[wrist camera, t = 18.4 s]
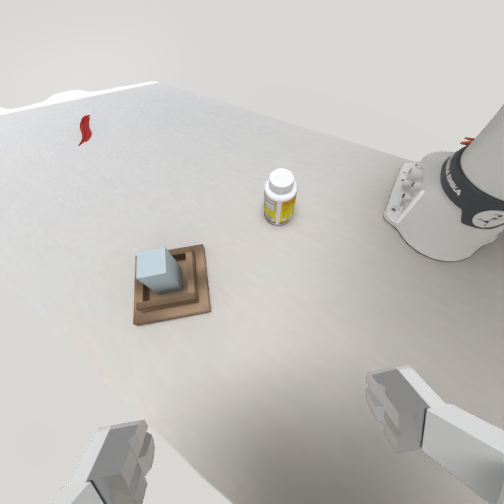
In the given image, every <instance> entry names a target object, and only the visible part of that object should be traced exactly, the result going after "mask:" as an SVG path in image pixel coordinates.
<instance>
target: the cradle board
mask: <svg viewBox="0 0 504 504" xmlns="http://www.w3.org/2000/svg"><path fill="white" fill-rule="evenodd" d="M168 252H169V253H170V254H171V255H172V256H173V258H174V259H175V260H176V261H177V263H178V264H179V265H180V266H181V268H182V278H183V290H181V291H176V292H171V293H166V294H161V295H159V294H157V293H156V292H155V291H153V290H152V289H150V288H149V287H148V286H146V285H145V284H143V283H142V282H140V281H139V280H138V279H136V273H137V256H136V262H135V290H134V318H133V324H135V325H137V326H138V325H144V324H149V323H154V322H159V321H165V320H170V319H175V318H181V317H186V316H191V315H197V314H202V313H207V312H211V308H210V299H209V289H208V279H207V270H206V260H205V251H204V246H203V244H201V245H195V246H189V247H184V248H178V249H172V250H168Z"/></svg>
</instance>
